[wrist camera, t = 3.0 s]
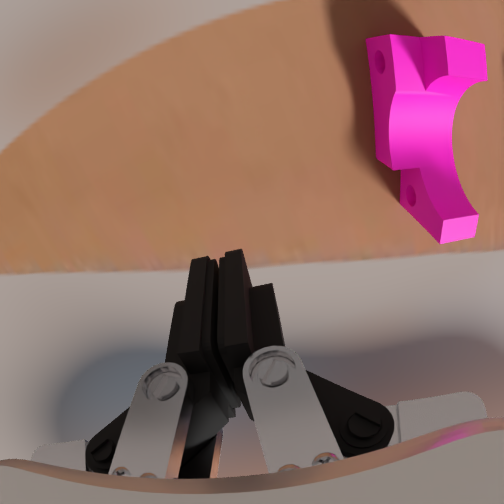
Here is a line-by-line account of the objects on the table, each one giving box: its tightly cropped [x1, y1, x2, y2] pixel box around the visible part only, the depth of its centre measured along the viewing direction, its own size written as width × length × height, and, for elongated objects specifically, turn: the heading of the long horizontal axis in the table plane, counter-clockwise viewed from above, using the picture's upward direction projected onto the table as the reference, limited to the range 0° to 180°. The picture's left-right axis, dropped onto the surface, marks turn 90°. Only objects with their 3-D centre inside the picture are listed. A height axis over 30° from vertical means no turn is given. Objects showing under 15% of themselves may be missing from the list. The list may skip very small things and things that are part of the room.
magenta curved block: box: [366, 34, 487, 244], centre depth 19 cm, size 15×6×8 cm, turn 9°
